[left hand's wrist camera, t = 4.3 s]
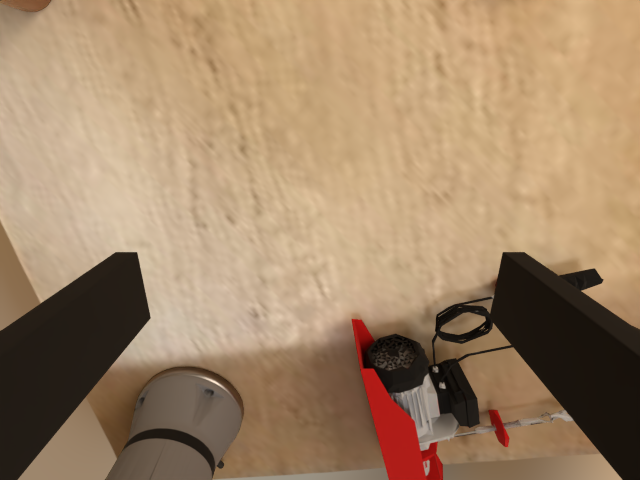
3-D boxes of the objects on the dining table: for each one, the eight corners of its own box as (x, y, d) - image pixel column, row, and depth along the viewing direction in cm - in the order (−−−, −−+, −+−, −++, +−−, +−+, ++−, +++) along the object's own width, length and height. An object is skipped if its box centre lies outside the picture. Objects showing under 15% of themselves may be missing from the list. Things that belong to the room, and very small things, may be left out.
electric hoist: (659, 304, 33) (358, 365, 35) (628, 473, 43) (397, 511, 46) (583, 258, 42) (349, 309, 45) (573, 407, 53) (383, 441, 55)
